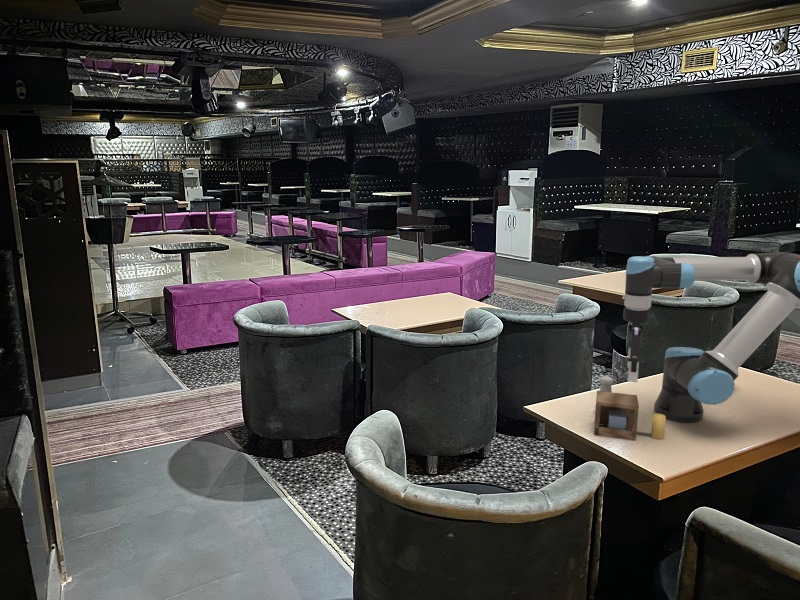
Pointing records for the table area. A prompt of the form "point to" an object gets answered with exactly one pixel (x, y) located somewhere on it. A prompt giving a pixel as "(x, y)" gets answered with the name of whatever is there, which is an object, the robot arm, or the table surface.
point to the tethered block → (657, 432)
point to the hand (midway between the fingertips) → (632, 374)
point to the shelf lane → (617, 403)
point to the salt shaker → (606, 383)
